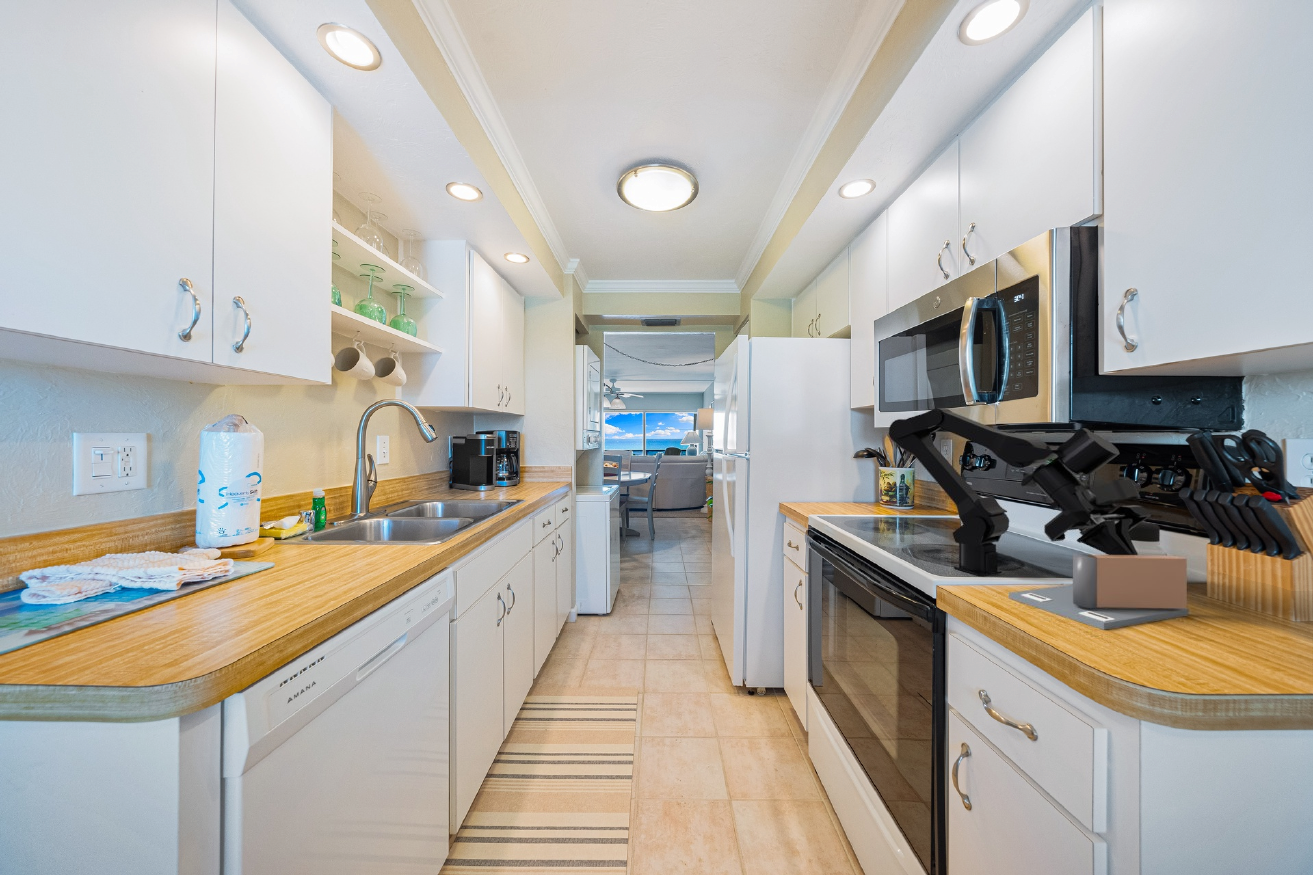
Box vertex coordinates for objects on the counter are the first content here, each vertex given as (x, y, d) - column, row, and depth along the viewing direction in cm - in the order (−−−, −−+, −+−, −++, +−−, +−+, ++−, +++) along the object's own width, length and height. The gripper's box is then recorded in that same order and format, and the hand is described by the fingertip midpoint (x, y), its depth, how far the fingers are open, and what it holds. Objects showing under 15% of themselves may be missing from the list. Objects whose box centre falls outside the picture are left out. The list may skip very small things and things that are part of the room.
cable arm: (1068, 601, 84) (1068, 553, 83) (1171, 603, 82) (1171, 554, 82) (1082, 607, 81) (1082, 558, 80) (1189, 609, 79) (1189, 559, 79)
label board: (1008, 598, 90) (1008, 591, 90) (1086, 587, 95) (1086, 581, 95) (1103, 629, 75) (1103, 621, 75) (1188, 615, 81) (1188, 607, 81)
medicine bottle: (1167, 591, 93) (1167, 526, 93) (1115, 584, 97) (1115, 522, 97) (1159, 581, 99) (1159, 521, 98) (1110, 575, 103) (1111, 517, 103)
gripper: (1061, 463, 85) (1140, 542, 74) (1137, 460, 90) (1220, 533, 80) (1016, 503, 92) (1082, 579, 82) (1088, 498, 98) (1159, 569, 87)
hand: (1137, 565), depth 83 cm, fingers closed
